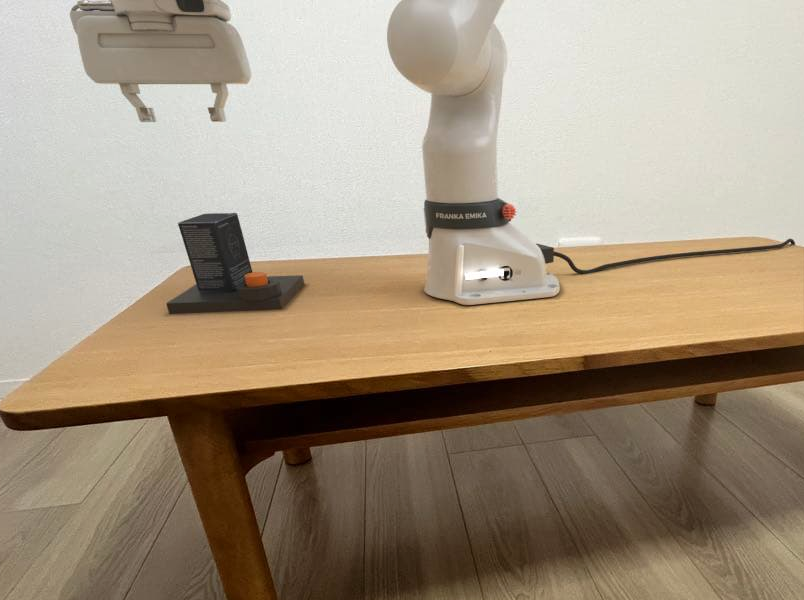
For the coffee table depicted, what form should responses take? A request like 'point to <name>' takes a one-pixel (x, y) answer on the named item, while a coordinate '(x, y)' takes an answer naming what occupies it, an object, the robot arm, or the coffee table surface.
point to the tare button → (256, 279)
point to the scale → (239, 297)
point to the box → (216, 251)
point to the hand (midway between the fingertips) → (184, 122)
